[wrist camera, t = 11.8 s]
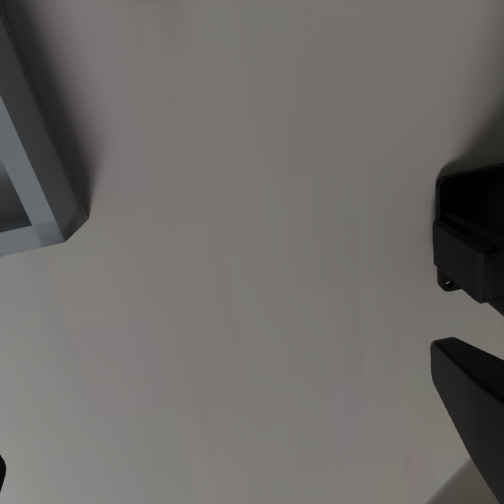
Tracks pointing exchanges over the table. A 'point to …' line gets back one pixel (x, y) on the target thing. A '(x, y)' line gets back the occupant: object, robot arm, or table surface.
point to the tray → (30, 162)
